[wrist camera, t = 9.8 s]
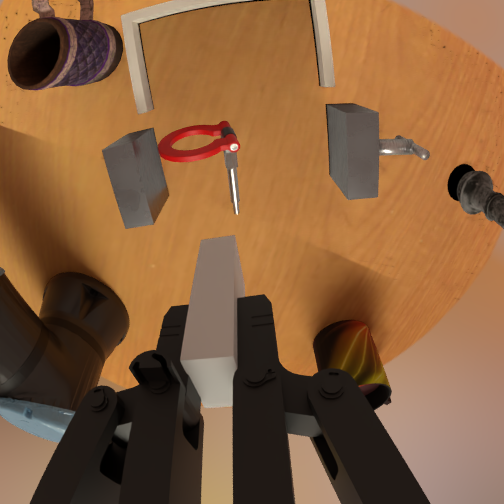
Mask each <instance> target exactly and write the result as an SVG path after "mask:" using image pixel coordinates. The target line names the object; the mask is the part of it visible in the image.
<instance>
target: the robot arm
mask: <svg viewBox="0 0 504 504" xmlns="http://www.w3.org/2000/svg"><path fill="white" fill-rule="evenodd" d="M128 329H129V316H128V312H127V310H126V308H125V306H124V304H123V303H122V301H121V300H120V299H119V297H118V296H117V295H116V294H115V293H114V292H113V291H112V290H111V289H110V288H108V287H107V286H106V285H104V284H103V283H102V282H100V281H98V280H96V279H94V278H92V277H90V276H87V275H85V274H81V273H75V272H65V273H60V274H58V275H56V276H54V277H53V278H52V279H51V280H50V281H49V283H48V284H47V286H46V288H45V290H44V294H43V303H42V306H41V310H40V314H39V317H38V316H37V315H36V314H35V313H34V311H33V310H32V309H31V308H30V306H29V305H28V304H27V303H26V302H25V300H24V299H23V298H22V297H21V295H20V294H19V293H18V291H17V290H16V289H15V287H14V286H13V285H12V283H11V282H10V280H9V279H8V278H7V276H6V275H5V270H4V269H3V268H1V267H0V415H1V416H2V417H3V418H4V419H6V420H7V421H8V422H10V423H12V424H13V425H15V426H16V427H18V428H20V429H22V430H25V431H26V432H28V433H31V434H33V435H35V436H38V437H41V438H43V439H47V440H50V441H54V442H59V444H58V446H57V448H56V450H55V452H54V454H53V456H52V458H51V460H50V462H49V464H48V466H47V468H46V470H45V472H44V474H43V476H42V478H41V480H40V482H39V484H38V487H37V489H36V491H35V493H34V495H33V497H32V500H31V502H30V504H201V478H202V453H203V452H202V451H203V432H204V420H203V416H202V415H201V413H200V407H201V402H202V404H203V406H204V407H205V408H213V407H230V406H233V504H295V498H294V488H293V478H292V469H291V460H290V450H289V441H288V433H289V434H296V435H301V436H308V437H310V439H311V441H312V443H313V445H314V447H315V449H316V452H317V454H318V456H319V458H320V460H321V462H322V465H323V466H324V468H325V471H326V473H327V475H328V477H329V479H330V481H331V484H332V486H333V488H334V490H335V492H336V494H337V496H338V498H339V500H340V502H341V504H430V502H429V500H428V499H427V497H426V495H425V494H424V492H423V491H422V488H421V487H420V485H419V483H418V482H417V480H416V479H415V477H414V475H413V474H412V472H411V470H410V469H409V467H408V465H407V464H406V462H405V460H404V459H403V458H402V455H401V454H400V452H399V451H398V449H397V447H396V446H395V444H394V442H393V441H392V439H391V438H390V436H389V434H388V433H387V431H386V429H385V428H384V426H383V425H382V423H381V421H380V420H379V418H378V417H377V415H376V413H375V412H374V410H373V408H372V407H371V405H370V404H369V402H368V400H367V399H366V397H365V396H364V394H363V393H362V391H361V389H360V388H359V386H358V385H357V383H356V381H355V380H354V378H353V377H352V376H351V375H350V374H349V373H348V372H346V371H343V370H341V369H335V368H329V369H324V370H321V371H319V372H317V373H316V374H314V375H313V376H304V375H298V374H294V373H292V372H290V371H288V370H286V369H285V368H284V367H283V366H282V365H281V363H280V362H279V357H278V349H277V341H276V333H275V326H274V319H273V312H272V304H271V302H270V301H269V299H268V298H267V297H266V296H265V294H263V295H256V296H248V297H245V284H244V279H243V274H242V269H241V264H240V259H239V254H238V249H237V243H236V238H235V235H232V236H225V237H219V238H212V239H205V240H201V243H200V248H199V254H198V259H197V264H196V269H195V274H194V280H193V285H192V291H191V296H190V302H189V305H180V306H171V308H170V309H169V310H168V312H167V313H166V314H165V316H164V319H163V323H162V329H161V331H160V335H159V336H160V338H159V340H158V344H157V348H156V350H151V351H146V352H144V353H142V354H140V355H138V356H137V357H136V358H135V359H134V360H133V361H132V362H131V364H130V366H129V369H130V371H131V372H132V374H133V375H134V377H135V378H136V380H137V381H138V383H139V385H138V386H135V387H133V388H130V389H126V390H123V391H120V392H115V391H114V390H113V389H112V388H110V387H108V386H98V387H97V384H98V381H99V378H100V375H101V372H102V369H103V366H104V363H105V360H106V359H107V358H108V357H109V355H110V354H111V353H112V352H113V350H114V349H115V347H116V346H118V345H119V344H120V343H121V342H122V341H123V340H124V338H125V337H126V335H127V332H128Z"/></svg>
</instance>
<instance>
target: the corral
mask: <svg viewBox="0 0 504 504" xmlns="http://www.w3.org/2000/svg"><path fill="white" fill-rule="evenodd" d="M257 1H269V0H173V1H169V2H165V3H161V4H157V5H154V6H150V7H147V8H143V9H140V10H137V11H133V12H130V13H127V14H124V15H121V20H122V27H123V34H124V41H125V47H126V53H127V59H128V65H129V71H130V76H131V82H132V87H133V92H134V97H135V102H136V107H137V112H138V114H141V113H145V112H148V111H151V110H153V109H154V105H153V100H152V95H151V89H150V84H149V78H148V73H147V67H146V61H145V55H144V49H143V43H142V37H141V30H140V24H142V23H145V22H149V21H152V20H156V19H160V18H164V17H168V16H172V15H176V14H180V13H185V12H190V11H195V10H200V9H205V8H211V7H217V6H223V5H230V4H238V3H247V2H257ZM308 1H309V7H310V14H311V21H312V28H313V36H314V43H315V52H316V60H317V69H318V79H319V86H322V87H335V79H334V68H333V58H332V49H331V41H330V33H329V25H328V18H327V11H326V5H325V0H308Z"/></svg>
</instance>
